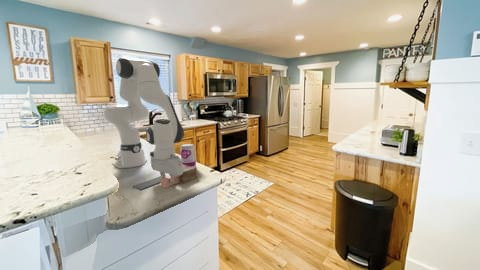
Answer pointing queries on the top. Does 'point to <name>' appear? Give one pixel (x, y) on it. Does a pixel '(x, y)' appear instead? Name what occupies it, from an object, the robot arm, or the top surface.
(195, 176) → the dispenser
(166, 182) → the pink rectangular block
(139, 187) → the mat
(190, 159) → the supplement can
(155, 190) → the top surface
